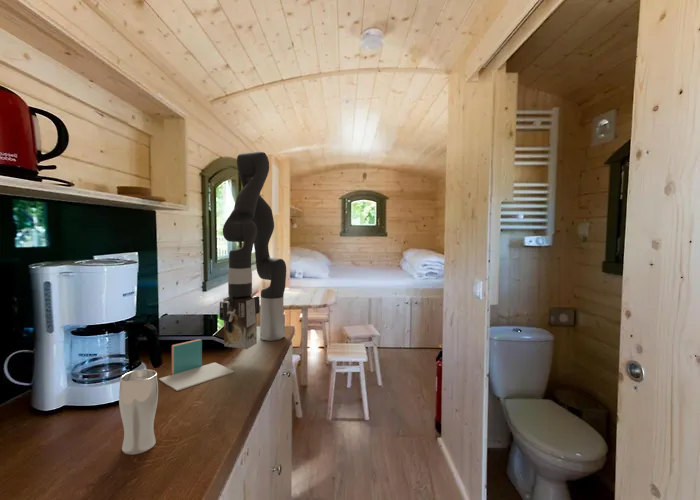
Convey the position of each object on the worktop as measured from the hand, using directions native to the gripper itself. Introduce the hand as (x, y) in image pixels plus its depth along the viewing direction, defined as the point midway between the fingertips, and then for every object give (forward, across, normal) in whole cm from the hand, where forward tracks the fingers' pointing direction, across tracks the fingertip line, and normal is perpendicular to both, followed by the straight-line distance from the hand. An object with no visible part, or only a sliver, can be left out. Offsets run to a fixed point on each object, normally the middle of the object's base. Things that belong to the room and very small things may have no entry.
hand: (240, 329), depth 121 cm
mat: (+11, +15, -1) cm, 19 cm away
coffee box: (+5, 0, 0) cm, 5 cm away
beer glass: (+11, +41, +23) cm, 48 cm away
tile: (+11, +15, -7) cm, 20 cm away
